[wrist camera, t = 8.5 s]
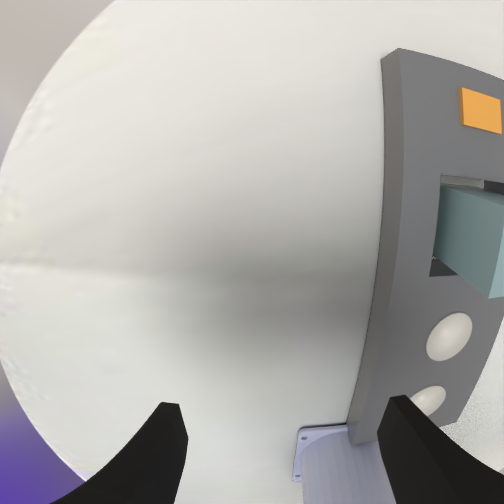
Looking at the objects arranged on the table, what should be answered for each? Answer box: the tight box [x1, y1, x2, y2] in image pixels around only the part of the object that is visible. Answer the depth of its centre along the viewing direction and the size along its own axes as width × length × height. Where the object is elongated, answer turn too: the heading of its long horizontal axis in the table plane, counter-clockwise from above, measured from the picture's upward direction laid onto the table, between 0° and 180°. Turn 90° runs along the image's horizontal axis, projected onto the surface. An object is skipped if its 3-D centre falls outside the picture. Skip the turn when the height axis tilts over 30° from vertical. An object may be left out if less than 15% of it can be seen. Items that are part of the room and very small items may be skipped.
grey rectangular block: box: [433, 183, 504, 299], centre depth 13 cm, size 4×4×7 cm
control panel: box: [346, 48, 504, 445], centre depth 16 cm, size 26×10×3 cm, turn 2°
